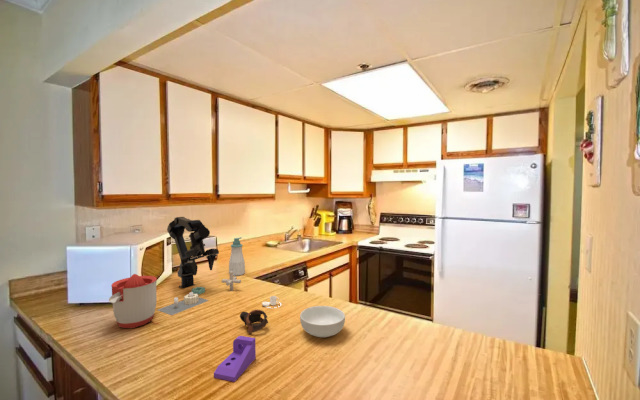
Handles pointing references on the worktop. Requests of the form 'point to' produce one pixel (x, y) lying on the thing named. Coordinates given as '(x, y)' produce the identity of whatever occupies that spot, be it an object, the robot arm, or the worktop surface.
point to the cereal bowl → (322, 320)
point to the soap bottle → (236, 258)
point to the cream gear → (191, 299)
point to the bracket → (237, 359)
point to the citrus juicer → (134, 300)
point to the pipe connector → (231, 281)
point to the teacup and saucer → (271, 302)
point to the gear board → (180, 305)
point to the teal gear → (198, 290)
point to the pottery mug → (254, 320)
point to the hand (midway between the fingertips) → (203, 272)
